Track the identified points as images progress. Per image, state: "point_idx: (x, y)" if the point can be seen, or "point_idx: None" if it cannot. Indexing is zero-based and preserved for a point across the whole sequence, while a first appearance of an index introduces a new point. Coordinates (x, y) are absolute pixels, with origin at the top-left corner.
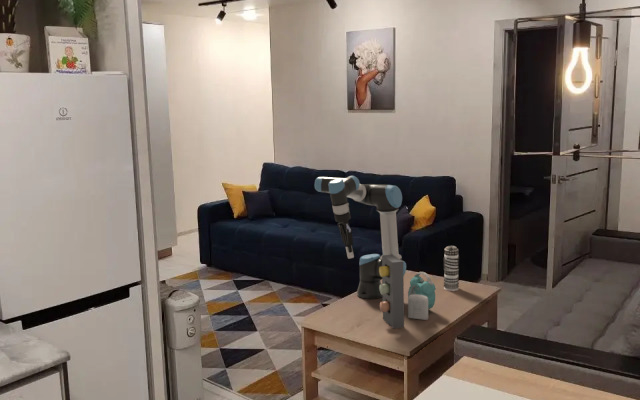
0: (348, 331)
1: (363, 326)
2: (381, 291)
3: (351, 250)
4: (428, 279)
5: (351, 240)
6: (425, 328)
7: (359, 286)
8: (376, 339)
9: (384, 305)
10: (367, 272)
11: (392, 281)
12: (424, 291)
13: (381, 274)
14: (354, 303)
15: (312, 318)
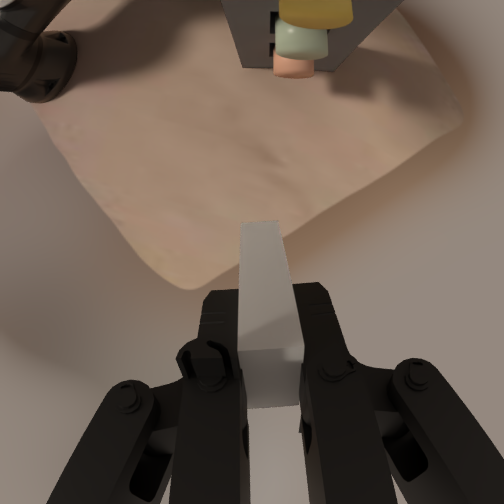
0: (305, 203)
1: (283, 146)
2: (303, 55)
3: (330, 308)
4: None
5: (475, 455)
6: None
7: (27, 95)
8: (389, 153)
9: (312, 67)
10: (12, 64)
11: (384, 13)
12: None
13: (322, 23)
14: (86, 119)
15: (167, 269)
